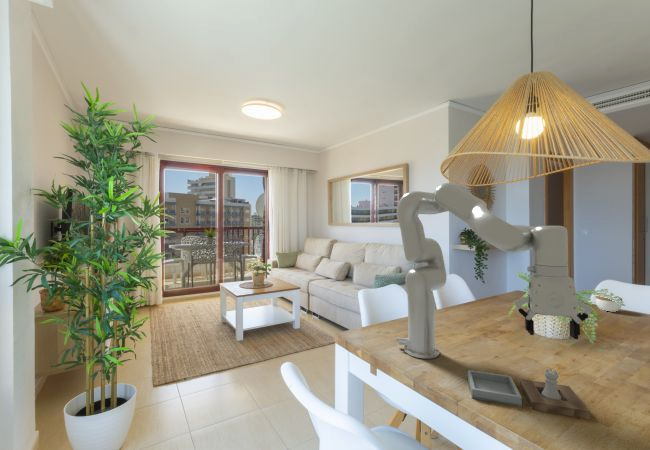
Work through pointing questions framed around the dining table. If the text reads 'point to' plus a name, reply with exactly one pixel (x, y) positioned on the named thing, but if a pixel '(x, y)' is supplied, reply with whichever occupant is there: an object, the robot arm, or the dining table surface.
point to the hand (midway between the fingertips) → (551, 335)
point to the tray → (494, 388)
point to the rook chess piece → (551, 385)
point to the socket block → (554, 400)
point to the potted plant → (607, 304)
